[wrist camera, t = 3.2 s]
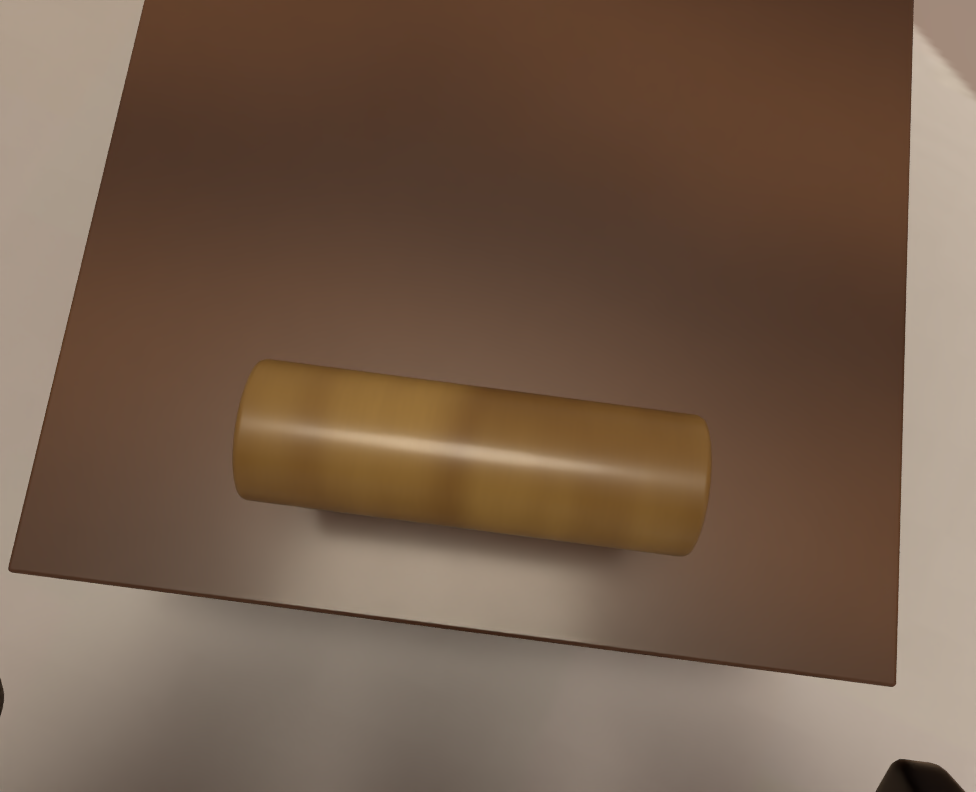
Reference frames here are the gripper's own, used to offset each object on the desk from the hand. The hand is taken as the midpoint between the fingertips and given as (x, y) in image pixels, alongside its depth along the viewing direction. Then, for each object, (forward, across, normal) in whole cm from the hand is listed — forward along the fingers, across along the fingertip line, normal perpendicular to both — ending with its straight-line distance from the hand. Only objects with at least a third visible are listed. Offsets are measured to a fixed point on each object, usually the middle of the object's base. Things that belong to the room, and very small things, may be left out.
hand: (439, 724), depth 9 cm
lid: (+8, 0, -2) cm, 8 cm away
